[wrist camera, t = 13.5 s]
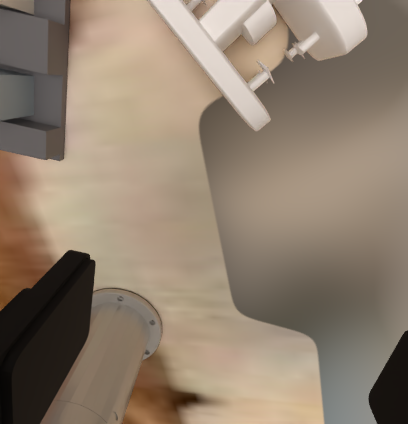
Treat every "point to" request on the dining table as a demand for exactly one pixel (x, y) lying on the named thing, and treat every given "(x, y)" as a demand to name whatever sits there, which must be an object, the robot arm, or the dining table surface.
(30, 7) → the cream plug
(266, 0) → the cable organizer
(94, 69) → the dining table surface
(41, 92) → the grey blocky pieces
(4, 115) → the slate plug
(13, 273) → the dining table surface
